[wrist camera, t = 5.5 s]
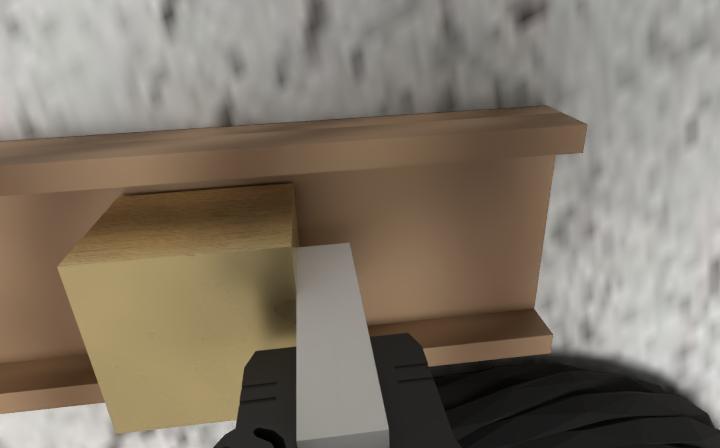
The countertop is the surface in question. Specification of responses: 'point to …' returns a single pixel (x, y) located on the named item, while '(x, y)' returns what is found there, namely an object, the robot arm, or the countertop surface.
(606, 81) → the countertop surface
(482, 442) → the cable lock
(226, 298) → the block
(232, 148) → the rail
